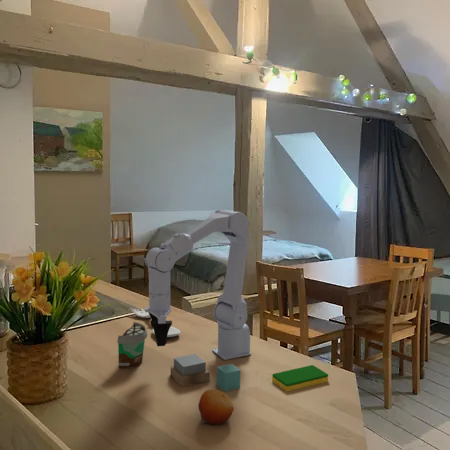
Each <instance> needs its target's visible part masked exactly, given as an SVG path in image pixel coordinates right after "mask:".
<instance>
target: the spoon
mask: <svg viewBox="0 0 450 450" xmlns="http://www.w3.org/2000/svg"><path fill="white" fill-rule="evenodd" d="M145 308H147V307H144V309H143V308H142V307H141V308H140V309H139V308H135V307H134V308H132V307H129V309H130V312H131V313H133V314H135V315H136V316H137V317H140V318H142V319H149V318H150V320H152V319H151V317H150V315H149V313H148V312H145ZM151 332H152V334H153V335H155V334H154V329H153V328H152V331H151ZM181 332H182V331H181V329H178V328H176V327H174V326H172V325H171V327H170V329H169V331H168V335H167V338H172V337H176V336H178V335H179V334H181Z"/></svg>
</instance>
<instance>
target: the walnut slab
mask: <svg viewBox="0 0 450 450" xmlns="http://www.w3.org/2000/svg"><path fill="white" fill-rule="evenodd" d="M210 372H211V371H209V370H208V369H207V368H206V371H204V372H200V373H195V374H190V375H186V376H183V375H182V374H181V373H180V372H179V371H178V370H177V369H176V368H174V365H173V366H170V376H171V377H172V378H173V379H174V380H175V381H176V383H178V385H180V386H181V387H182V388H185V387H189V386H193V385H198V384H204V383H207V382H210V381H211V378H210V377H211V376H210V375H211V373H210Z"/></svg>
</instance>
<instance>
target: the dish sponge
mask: <svg viewBox="0 0 450 450" xmlns="http://www.w3.org/2000/svg"><path fill="white" fill-rule="evenodd" d="M271 380H272V381H271V382H273V383H274V384H275V385H277V386H278V387H279V388H281V389H283V390H284V391H285V392H291V391H294V390H300V389H302V388H306V387H307V388H308V387H310V386H312V387H313V386H315V385H319V384H325V383H327V382H329V373H327V372H325V371H324V370H322V369H320V368H319V367H317V366H315V365H314V364H310V365H306V366H301V367H298V368H297V367H296V368H293V369H289V370H285V371H281V372H280V371H279V372H274V373H273V374H272V379H271Z"/></svg>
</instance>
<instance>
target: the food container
mask: <svg viewBox="0 0 450 450" xmlns="http://www.w3.org/2000/svg"><path fill="white" fill-rule="evenodd" d="M147 338H148V331H147V328H146V326H145V325H144V324H142V323H140V322H137V321H133V323H132V326H131V327H130V328H128V329H126V330H125V332H124V333H123V334H122V335H118V336H117V344H118V346H117V347H118V348H117V349H118V369H133V368H135V367H136V368H137V367H138V366H140V365H142V364H143V359H144V351H145V349H144V348H145V340H147Z"/></svg>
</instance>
